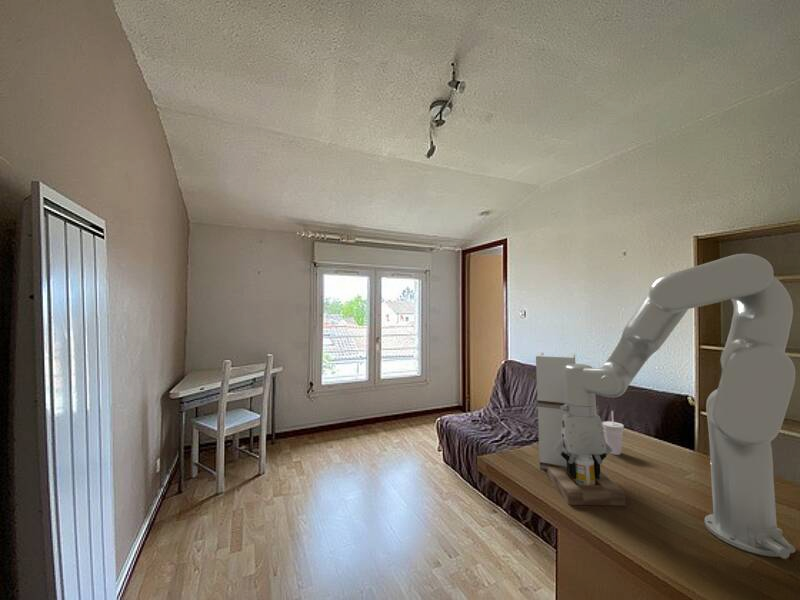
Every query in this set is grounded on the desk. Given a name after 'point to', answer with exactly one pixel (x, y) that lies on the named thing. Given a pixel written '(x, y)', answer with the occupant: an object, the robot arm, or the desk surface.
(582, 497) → the socket block
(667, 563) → the desk surface
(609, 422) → the smoothie
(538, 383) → the tall seamed white column
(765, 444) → the robot arm
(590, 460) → the supplement bottle
